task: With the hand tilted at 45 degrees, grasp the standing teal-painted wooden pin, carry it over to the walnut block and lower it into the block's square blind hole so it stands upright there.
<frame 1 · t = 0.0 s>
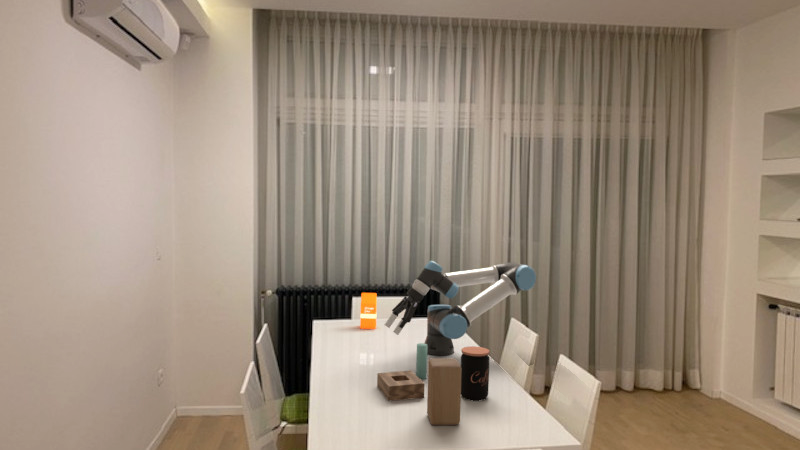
hand: (390, 329, 253), 15 cm above the table, tool tilted 35°, fingers open, 13 cm apart
wooden block: (443, 420, 190), on the table
pin: (421, 377, 234), on the table
orange juice: (368, 327, 323), on the table
socket block: (400, 392, 216), on the table
coffee jar: (474, 397, 213), on the table
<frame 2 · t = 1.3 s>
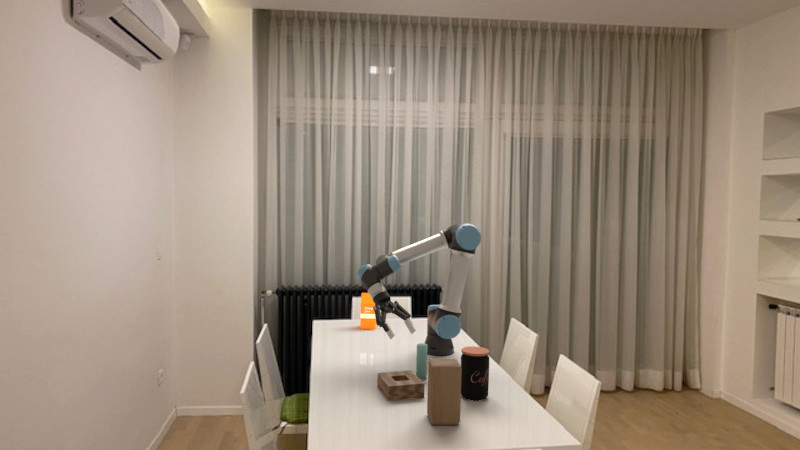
hand: (403, 334, 241), 16 cm above the table, tool tilted 45°, fingers open, 13 cm apart
nothing on the table moved.
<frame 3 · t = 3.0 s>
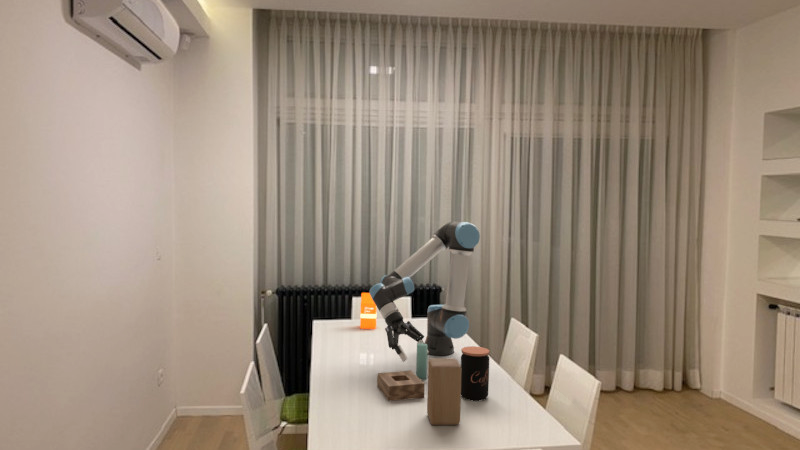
hand: (416, 357, 234), 9 cm above the table, tool tilted 45°, fingers open, 13 cm apart
nothing on the table moved.
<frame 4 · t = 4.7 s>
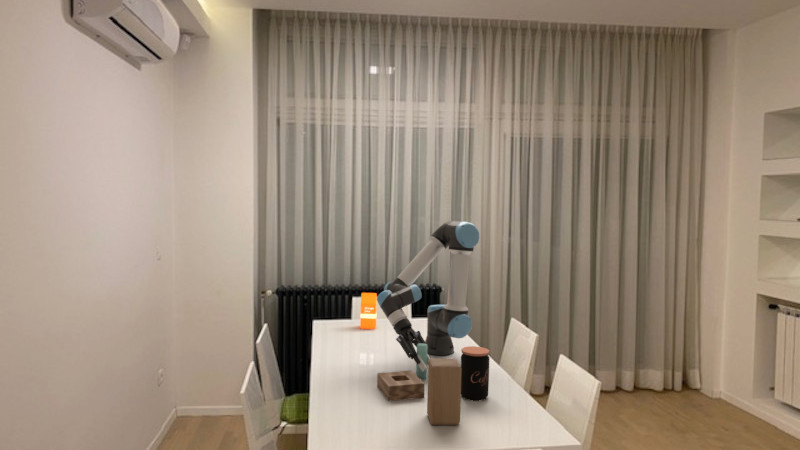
hand: (428, 368, 231), 5 cm above the table, tool tilted 45°, fingers closed on pin, 4 cm apart
pin: (421, 377, 234), on the table, touching gripper
everything else where it was.
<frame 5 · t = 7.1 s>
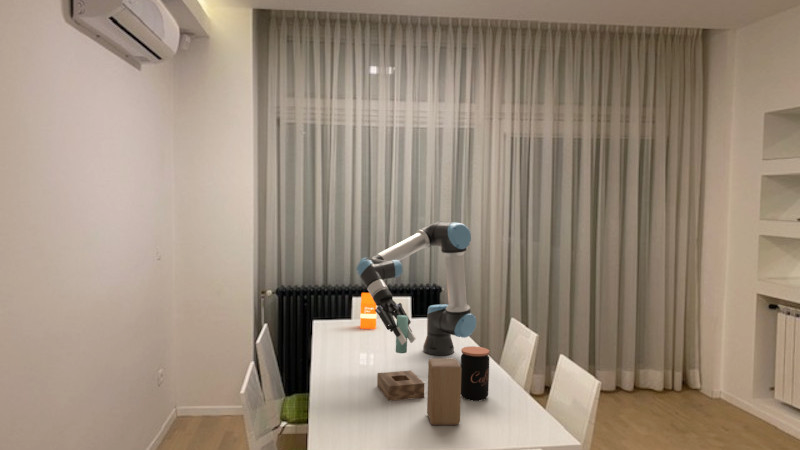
hand: (408, 341, 216), 20 cm above the table, tool tilted 45°, fingers closed on pin, 4 cm apart
pin: (401, 351, 218), point 15 cm above the table, touching gripper
everything else where it was.
when the fingers open (8 cm above the table, at t = 9.6 s): pin drops 1 cm, resting on socket block.
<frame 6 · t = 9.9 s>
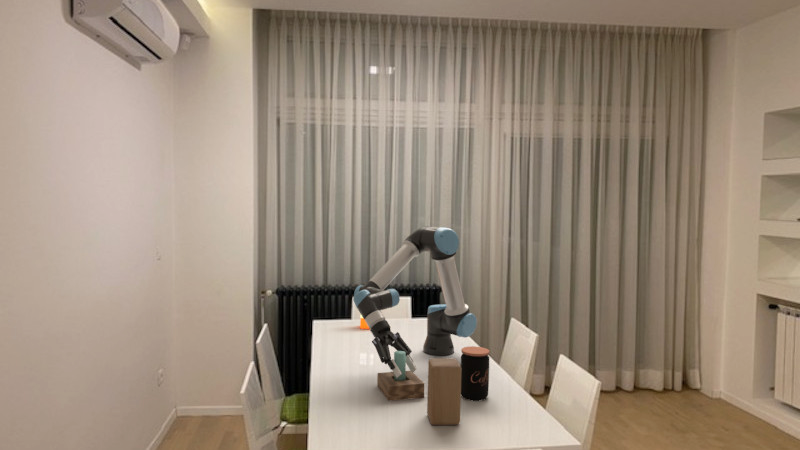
hand: (407, 373, 214), 8 cm above the table, tool tilted 45°, fingers open, 8 cm apart
pin: (400, 387, 216), point 2 cm above the table, touching socket block
everything else where it was.
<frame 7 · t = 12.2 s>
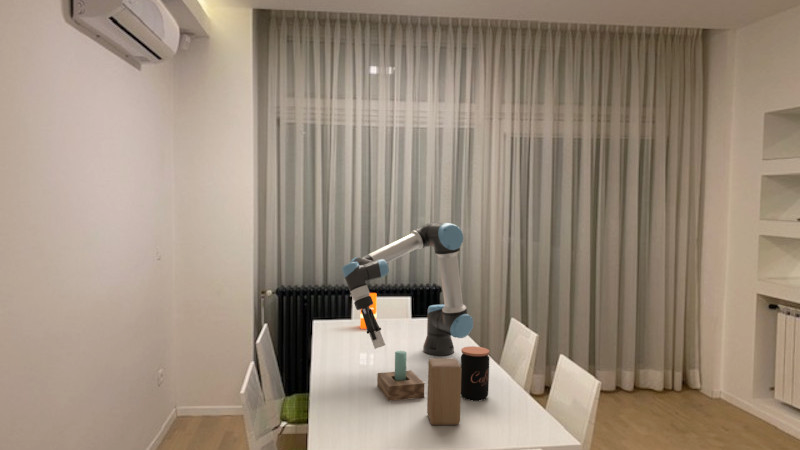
hand: (380, 347, 228), 14 cm above the table, tool tilted 25°, fingers open, 13 cm apart
nothing on the table moved.
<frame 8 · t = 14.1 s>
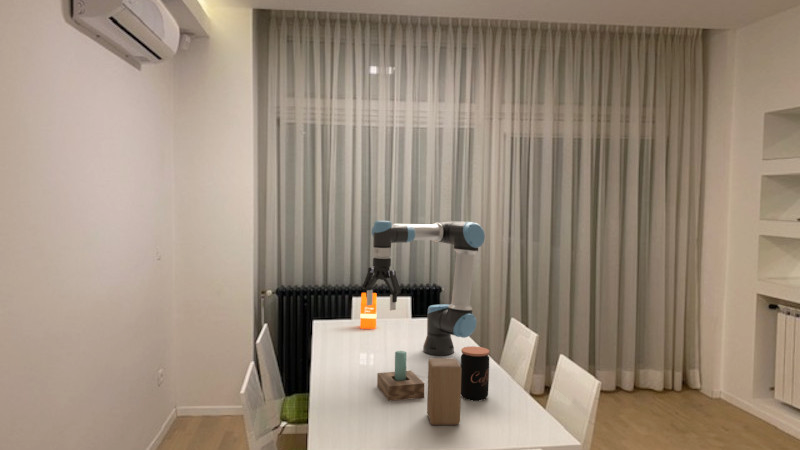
hand: (380, 307, 236), 29 cm above the table, tool pointing down, fingers open, 13 cm apart
nothing on the table moved.
at the end: pin 0.1 cm off-centre on the socket block, point 1.5 cm above the socket block's base; pin tilted 0°; the gripper is holding nothing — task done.
